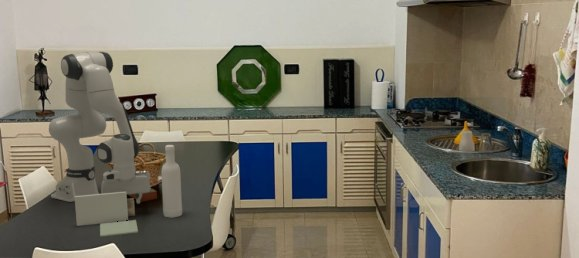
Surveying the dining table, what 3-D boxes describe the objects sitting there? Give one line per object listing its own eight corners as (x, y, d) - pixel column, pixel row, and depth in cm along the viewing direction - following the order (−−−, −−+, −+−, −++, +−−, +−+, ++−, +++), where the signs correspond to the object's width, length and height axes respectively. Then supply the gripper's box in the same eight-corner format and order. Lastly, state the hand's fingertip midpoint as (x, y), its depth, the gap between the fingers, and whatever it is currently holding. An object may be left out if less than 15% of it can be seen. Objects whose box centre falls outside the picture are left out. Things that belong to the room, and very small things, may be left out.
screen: (76, 225, 235) (74, 197, 233) (77, 224, 237) (74, 196, 234) (128, 220, 241) (126, 192, 239) (128, 219, 243) (126, 191, 240)
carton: (143, 191, 284) (142, 183, 283) (157, 199, 271) (157, 190, 271) (126, 194, 279) (126, 186, 278) (140, 202, 266) (140, 193, 266)
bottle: (173, 210, 253) (170, 142, 248) (186, 213, 249) (183, 145, 243) (159, 215, 247) (155, 146, 241) (172, 219, 242) (169, 148, 237)
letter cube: (120, 217, 246) (119, 203, 245) (119, 212, 251) (118, 199, 250) (134, 215, 247) (134, 201, 246) (134, 211, 253) (133, 197, 252)
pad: (100, 236, 223) (100, 235, 222) (100, 225, 236) (100, 223, 236) (137, 232, 227) (137, 231, 227) (135, 221, 240) (135, 219, 240)
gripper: (149, 168, 252) (151, 199, 254) (99, 173, 246) (102, 204, 248) (150, 172, 246) (152, 203, 248) (99, 176, 240) (102, 209, 242)
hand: (126, 204), depth 248 cm, fingers open, 8 cm apart
